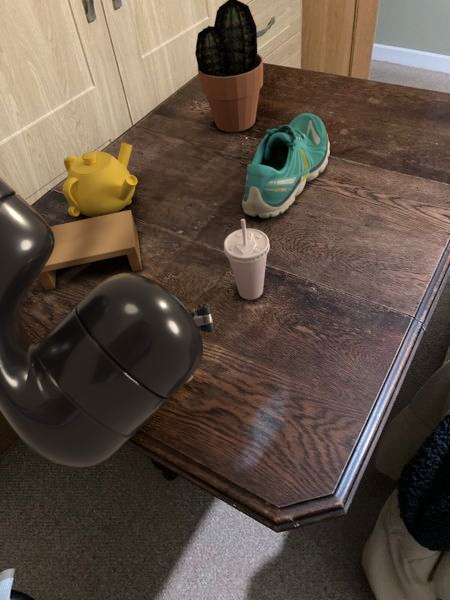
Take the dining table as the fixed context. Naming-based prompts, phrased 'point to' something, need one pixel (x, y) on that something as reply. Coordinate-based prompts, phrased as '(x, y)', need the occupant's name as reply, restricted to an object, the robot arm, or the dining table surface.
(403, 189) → the dining table surface
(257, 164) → the running shoe
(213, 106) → the potted plant
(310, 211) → the dining table surface
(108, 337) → the robot arm
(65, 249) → the wooden display riser
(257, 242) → the smoothie
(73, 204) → the teapot
